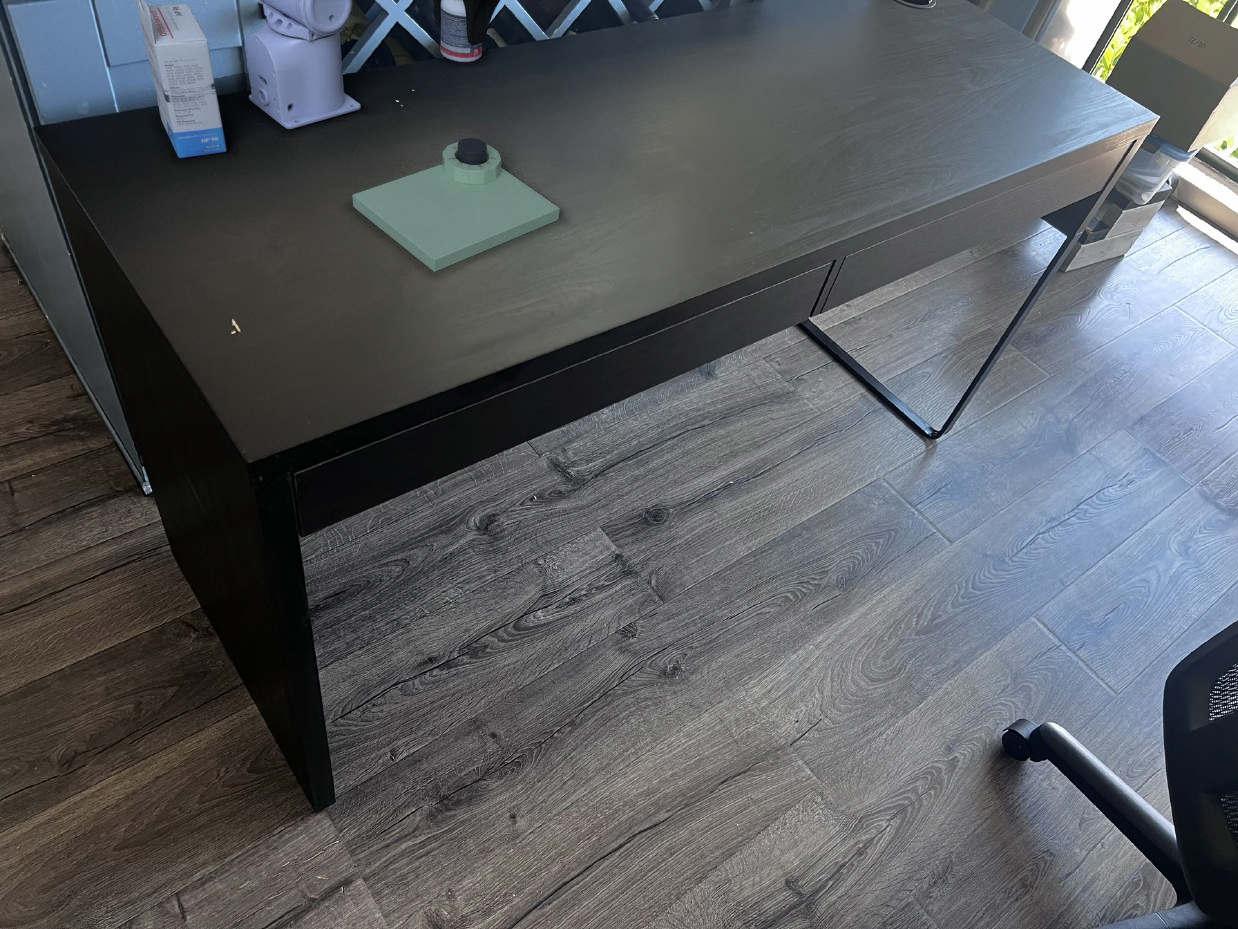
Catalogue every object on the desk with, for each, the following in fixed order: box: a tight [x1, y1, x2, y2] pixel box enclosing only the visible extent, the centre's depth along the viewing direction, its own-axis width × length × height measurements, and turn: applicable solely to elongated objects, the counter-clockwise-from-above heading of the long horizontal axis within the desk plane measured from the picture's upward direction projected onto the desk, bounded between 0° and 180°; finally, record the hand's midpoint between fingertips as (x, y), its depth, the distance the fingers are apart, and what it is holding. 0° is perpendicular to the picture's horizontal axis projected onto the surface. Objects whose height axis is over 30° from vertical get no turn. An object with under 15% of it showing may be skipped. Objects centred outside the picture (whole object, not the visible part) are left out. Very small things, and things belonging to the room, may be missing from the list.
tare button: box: [457, 137, 488, 165], centre depth 97 cm, size 3×3×2 cm
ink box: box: [135, 0, 227, 159], centre depth 93 cm, size 8×5×15 cm, turn 29°
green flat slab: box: [351, 141, 561, 273], centre depth 94 cm, size 16×14×3 cm
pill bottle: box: [439, 0, 483, 63], centre depth 116 cm, size 5×5×9 cm
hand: (461, 33), depth 118 cm, fingers closed on pill bottle, 5 cm apart
